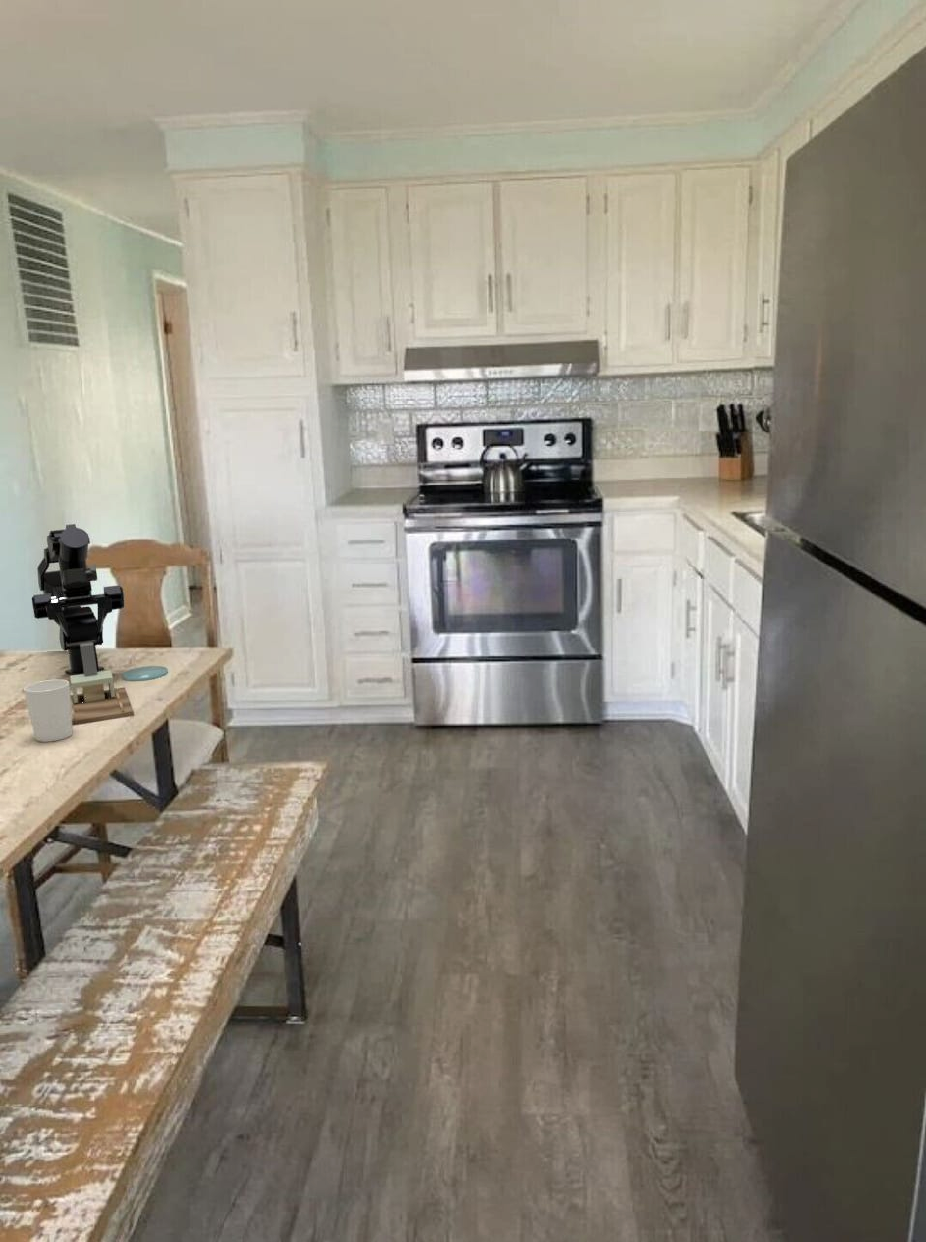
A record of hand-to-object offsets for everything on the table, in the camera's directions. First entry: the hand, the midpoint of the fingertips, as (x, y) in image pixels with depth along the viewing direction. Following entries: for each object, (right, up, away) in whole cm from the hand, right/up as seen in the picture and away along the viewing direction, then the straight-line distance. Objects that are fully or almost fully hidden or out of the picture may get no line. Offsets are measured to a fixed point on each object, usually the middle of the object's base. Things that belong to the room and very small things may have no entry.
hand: (83, 633), depth 213 cm
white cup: (+5, -19, -27) cm, 33 cm away
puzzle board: (+7, -15, -11) cm, 20 cm away
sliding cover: (+5, -13, -7) cm, 15 cm away
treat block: (+5, -14, -7) cm, 16 cm away
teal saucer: (+9, -10, +12) cm, 18 cm away
